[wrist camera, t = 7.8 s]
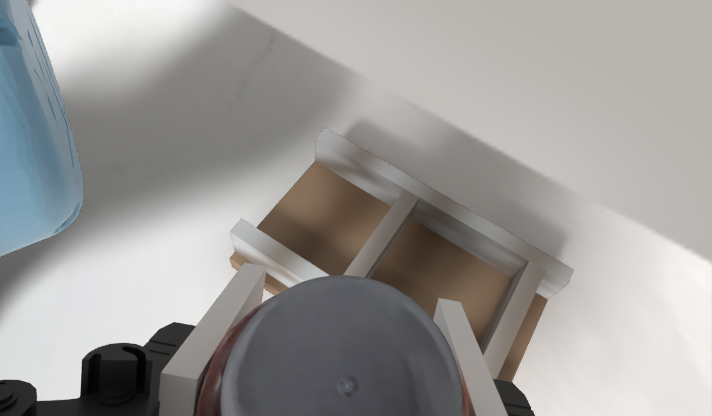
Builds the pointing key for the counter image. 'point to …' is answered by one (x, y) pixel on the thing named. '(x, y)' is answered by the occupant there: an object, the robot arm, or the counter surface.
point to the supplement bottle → (334, 356)
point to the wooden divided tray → (403, 247)
